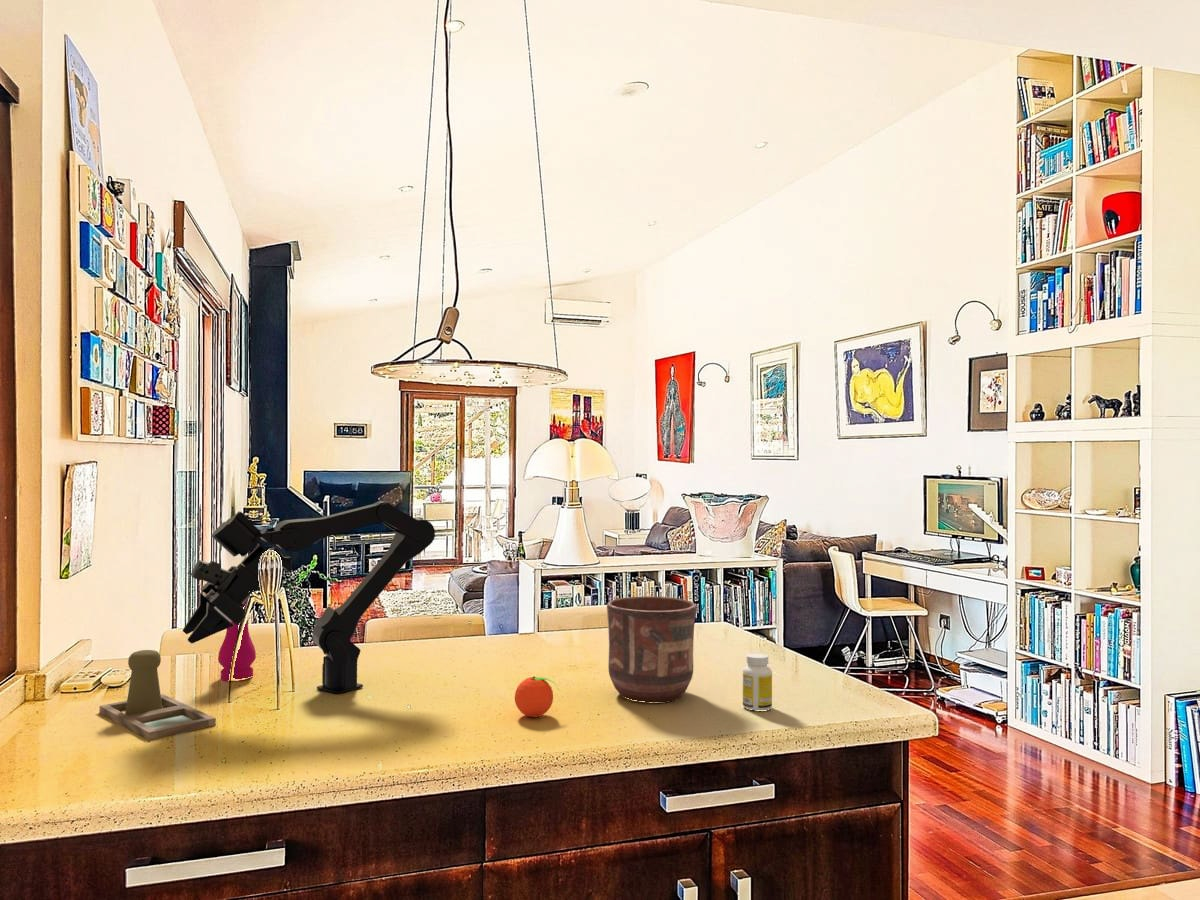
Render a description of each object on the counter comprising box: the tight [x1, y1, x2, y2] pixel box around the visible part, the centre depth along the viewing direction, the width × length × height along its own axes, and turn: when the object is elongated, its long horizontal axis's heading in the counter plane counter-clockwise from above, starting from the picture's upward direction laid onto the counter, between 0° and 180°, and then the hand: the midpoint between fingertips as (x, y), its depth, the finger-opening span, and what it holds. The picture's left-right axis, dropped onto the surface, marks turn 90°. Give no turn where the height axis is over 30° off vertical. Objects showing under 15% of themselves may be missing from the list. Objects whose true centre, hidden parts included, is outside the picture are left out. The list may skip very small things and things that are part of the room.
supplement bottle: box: [742, 653, 773, 711], centre depth 167 cm, size 5×5×10 cm
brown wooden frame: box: [98, 693, 217, 740], centre depth 157 cm, size 22×11×1 cm, turn 48°
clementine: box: [514, 676, 560, 718], centre depth 161 cm, size 8×7×7 cm
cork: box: [124, 649, 163, 715], centre depth 160 cm, size 6×6×11 cm
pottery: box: [606, 595, 697, 703], centre depth 176 cm, size 18×18×18 cm
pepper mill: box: [217, 600, 257, 682], centre depth 185 cm, size 7×7×20 cm
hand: (186, 637), depth 164 cm, fingers open, 9 cm apart
